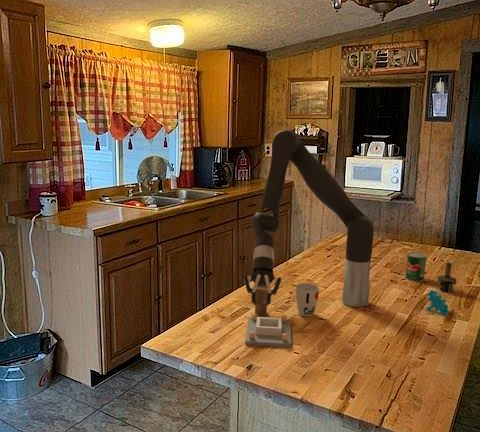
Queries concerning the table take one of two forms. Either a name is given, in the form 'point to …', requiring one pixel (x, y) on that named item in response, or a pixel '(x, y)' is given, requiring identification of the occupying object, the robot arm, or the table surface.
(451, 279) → the industrial component
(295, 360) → the table surface
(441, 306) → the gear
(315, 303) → the cup
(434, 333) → the table surface
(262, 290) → the brown block
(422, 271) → the canned tomato
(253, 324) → the housing plate
